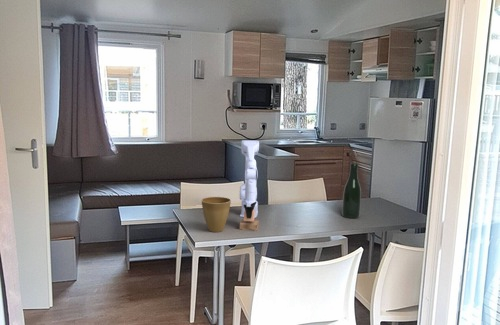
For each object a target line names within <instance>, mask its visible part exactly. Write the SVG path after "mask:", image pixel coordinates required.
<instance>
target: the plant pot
mask: <svg viewBox="0 0 500 325" xmlns="http://www.w3.org/2000/svg"><path fill="white" fill-rule="evenodd" d="M231 202H232V199H231V198H228V197H225V196H208V197H205V198H202V199H201V206H202V211H203V215H204V220H205V223H206V226H207V229H208V231H209V232H211V231H212V232H211V233H220V231H221V232H223V231H224V229H225V226H226V225H227V224H226V223H227V221H228V217H229V213H230V208H231Z"/></svg>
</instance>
